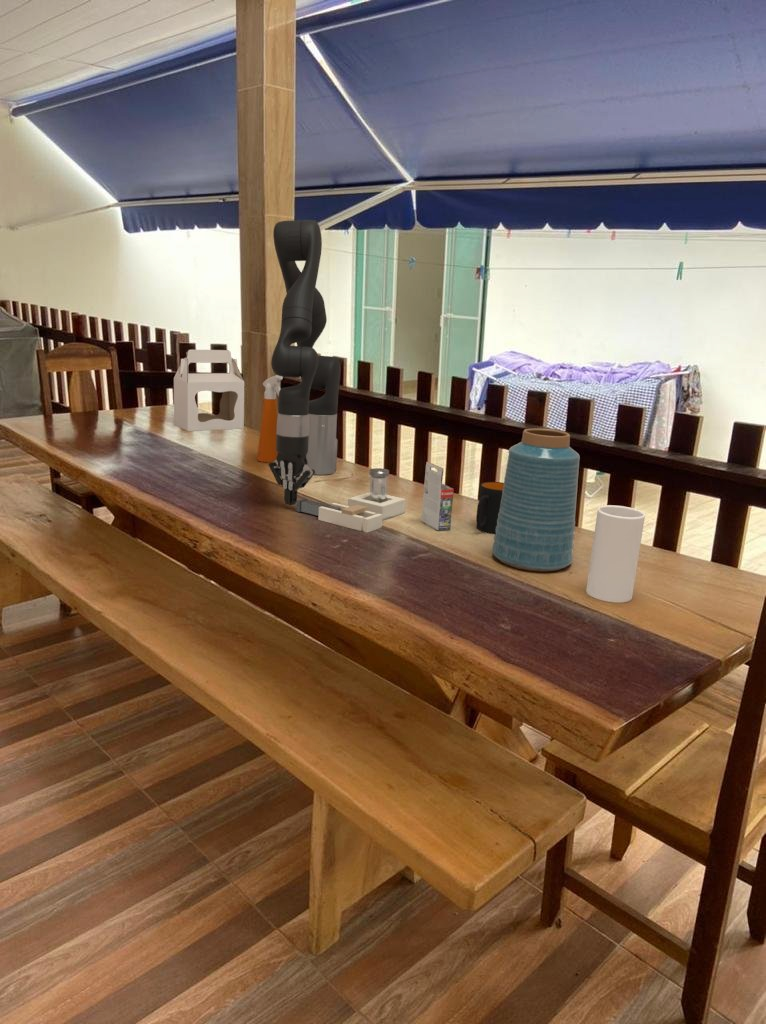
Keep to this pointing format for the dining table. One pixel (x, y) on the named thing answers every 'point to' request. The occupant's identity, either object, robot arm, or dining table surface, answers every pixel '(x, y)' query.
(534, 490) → the vase
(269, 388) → the spray bottle
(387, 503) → the socket block
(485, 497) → the mug
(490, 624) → the dining table surface
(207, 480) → the dining table surface
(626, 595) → the cup
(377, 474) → the salt shaker
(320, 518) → the pin guide
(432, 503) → the ink box
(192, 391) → the gable box
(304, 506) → the pin
